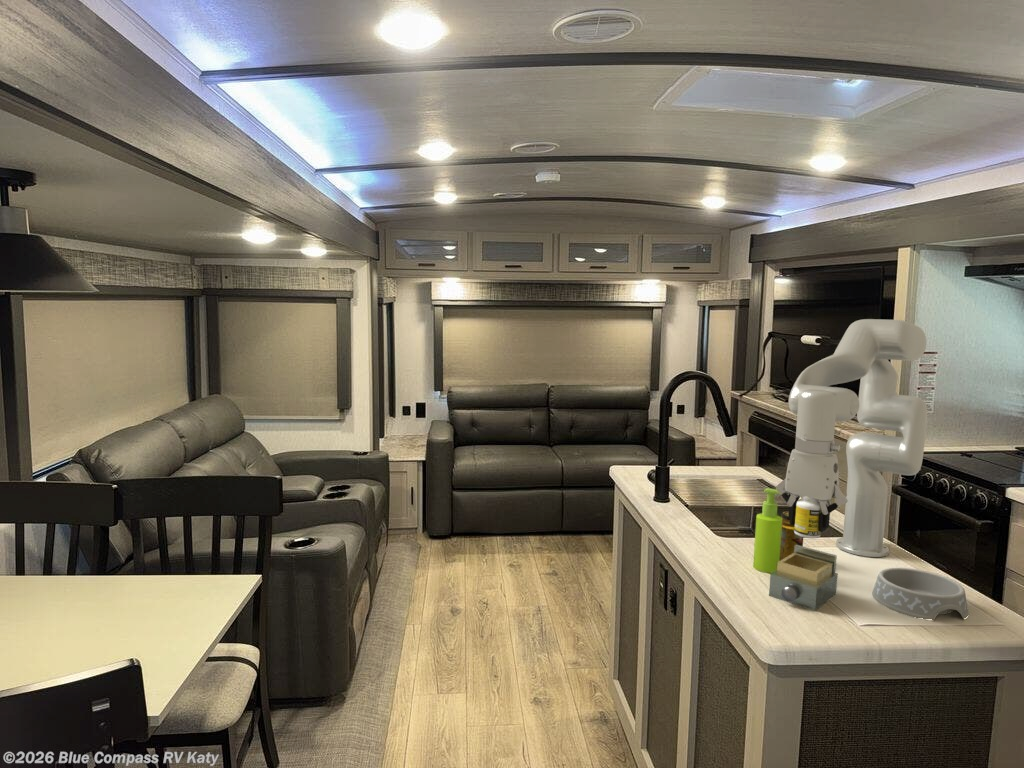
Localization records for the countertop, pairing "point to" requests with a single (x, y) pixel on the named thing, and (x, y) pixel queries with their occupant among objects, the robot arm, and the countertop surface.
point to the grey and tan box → (805, 578)
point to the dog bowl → (919, 593)
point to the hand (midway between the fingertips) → (808, 526)
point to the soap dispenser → (768, 535)
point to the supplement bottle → (807, 518)
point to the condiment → (788, 537)
